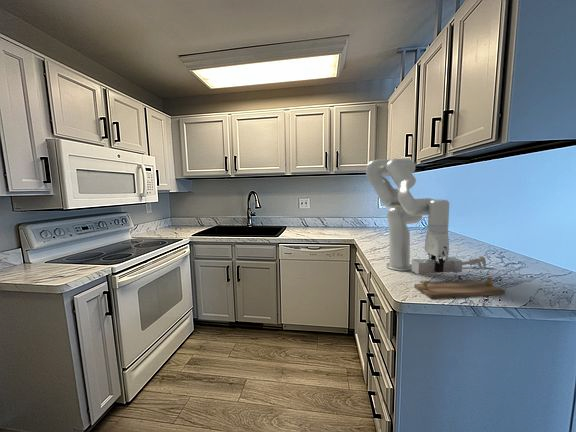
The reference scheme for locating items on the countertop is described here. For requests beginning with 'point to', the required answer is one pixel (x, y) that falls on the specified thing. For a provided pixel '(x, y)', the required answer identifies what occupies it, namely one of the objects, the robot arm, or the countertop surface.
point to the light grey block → (430, 264)
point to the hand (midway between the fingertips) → (436, 269)
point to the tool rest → (458, 289)
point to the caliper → (476, 261)
